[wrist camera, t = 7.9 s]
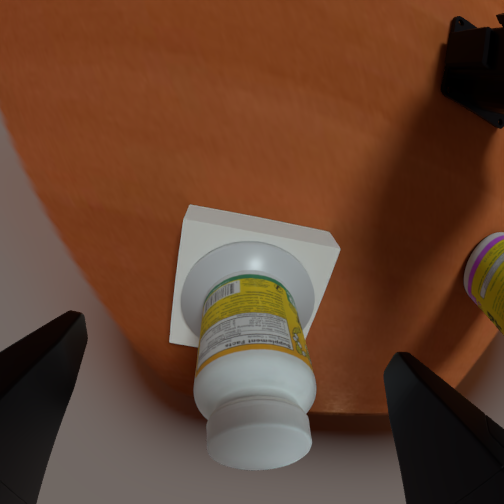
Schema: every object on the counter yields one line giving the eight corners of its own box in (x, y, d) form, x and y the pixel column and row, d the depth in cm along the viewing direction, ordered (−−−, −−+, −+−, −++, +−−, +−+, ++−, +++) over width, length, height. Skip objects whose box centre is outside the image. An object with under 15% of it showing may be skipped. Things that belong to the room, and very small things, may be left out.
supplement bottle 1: (208, 260, 17) (189, 405, 9) (303, 273, 18) (353, 411, 9) (200, 335, 20) (186, 472, 11) (282, 343, 20) (306, 476, 12)
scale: (327, 228, 21) (343, 253, 18) (288, 339, 25) (294, 371, 22) (191, 201, 20) (181, 223, 16) (174, 322, 24) (167, 354, 20)
